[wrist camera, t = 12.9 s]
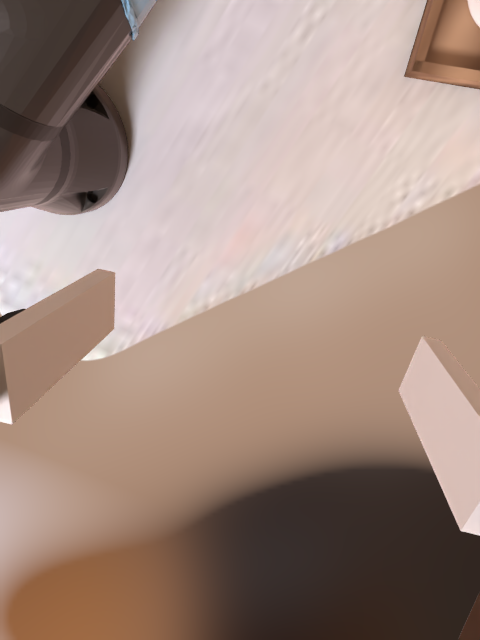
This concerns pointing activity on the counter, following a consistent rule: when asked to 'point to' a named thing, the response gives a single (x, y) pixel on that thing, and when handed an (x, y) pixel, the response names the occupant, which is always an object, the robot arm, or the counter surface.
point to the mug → (475, 10)
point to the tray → (446, 45)
